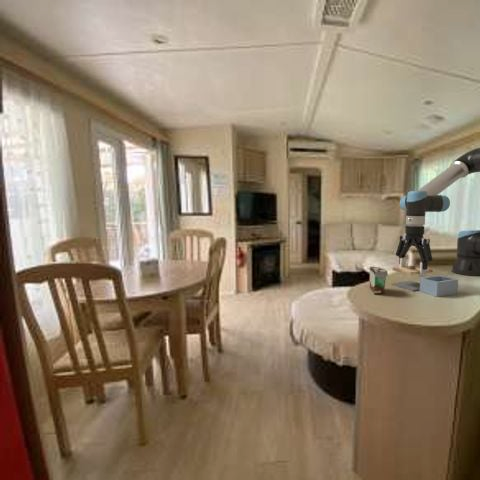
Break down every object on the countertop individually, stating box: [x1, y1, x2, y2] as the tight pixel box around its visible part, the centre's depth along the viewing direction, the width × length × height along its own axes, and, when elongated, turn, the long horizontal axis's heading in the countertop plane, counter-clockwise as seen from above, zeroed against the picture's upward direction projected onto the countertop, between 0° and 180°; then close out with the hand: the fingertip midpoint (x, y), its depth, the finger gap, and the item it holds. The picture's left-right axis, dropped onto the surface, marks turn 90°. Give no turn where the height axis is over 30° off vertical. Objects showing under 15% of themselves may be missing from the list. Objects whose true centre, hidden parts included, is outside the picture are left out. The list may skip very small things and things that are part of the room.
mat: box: [390, 280, 420, 292], centre depth 145 cm, size 12×12×1 cm
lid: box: [392, 265, 434, 276], centre depth 144 cm, size 13×10×2 cm
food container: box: [369, 266, 389, 296], centre depth 137 cm, size 12×6×10 cm, turn 168°
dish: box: [419, 275, 459, 298], centre depth 135 cm, size 12×8×6 cm, turn 110°
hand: (412, 273), depth 144 cm, fingers closed on lid, 10 cm apart
